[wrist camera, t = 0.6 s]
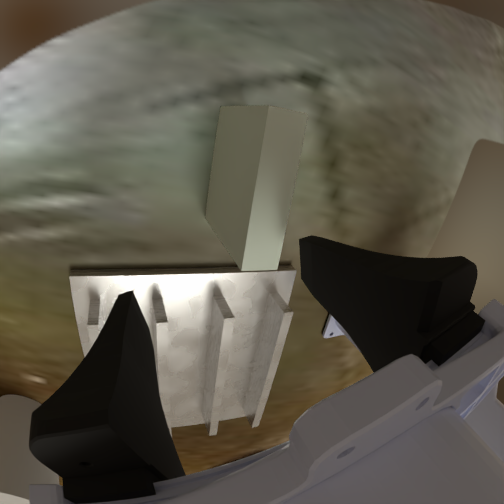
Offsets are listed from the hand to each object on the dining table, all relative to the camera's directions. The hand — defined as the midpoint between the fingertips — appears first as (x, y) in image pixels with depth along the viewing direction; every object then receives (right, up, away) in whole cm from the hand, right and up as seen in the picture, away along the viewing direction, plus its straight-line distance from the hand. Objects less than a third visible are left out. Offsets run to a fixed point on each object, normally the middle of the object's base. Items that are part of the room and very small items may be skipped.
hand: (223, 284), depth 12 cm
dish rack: (-5, -9, +15) cm, 18 cm away
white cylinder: (-24, -17, +11) cm, 32 cm away
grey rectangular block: (-1, +7, +8) cm, 11 cm away
